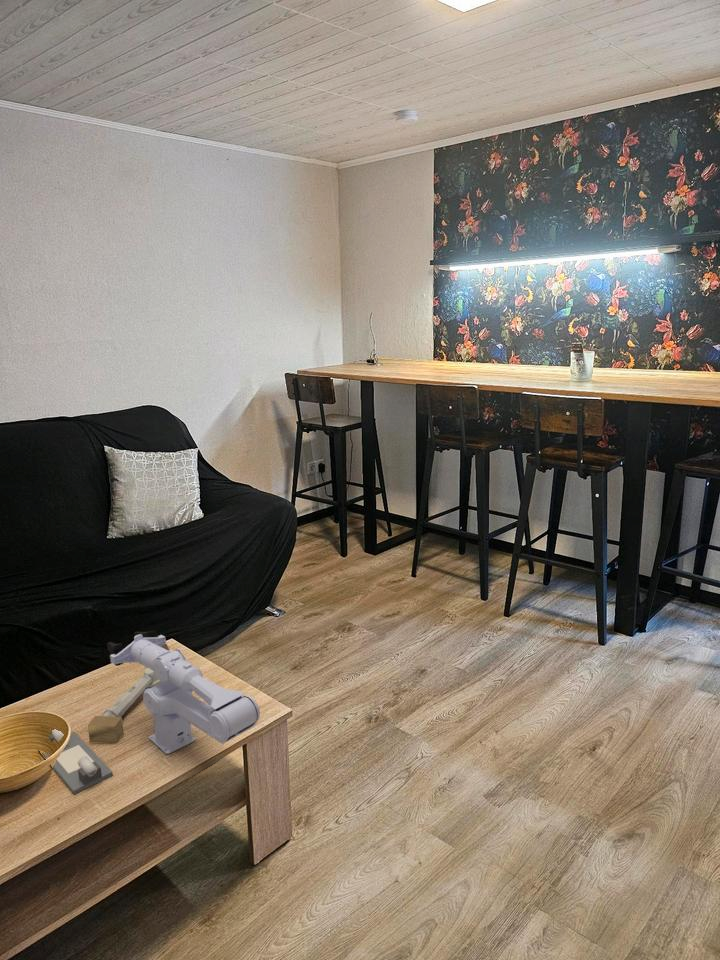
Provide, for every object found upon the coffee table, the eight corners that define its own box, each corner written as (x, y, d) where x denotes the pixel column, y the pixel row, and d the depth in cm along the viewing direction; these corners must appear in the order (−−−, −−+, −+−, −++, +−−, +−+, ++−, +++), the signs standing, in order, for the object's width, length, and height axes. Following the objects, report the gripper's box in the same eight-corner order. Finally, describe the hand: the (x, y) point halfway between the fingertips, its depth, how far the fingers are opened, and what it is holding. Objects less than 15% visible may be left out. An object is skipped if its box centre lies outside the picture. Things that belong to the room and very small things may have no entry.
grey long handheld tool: (92, 717, 173) (148, 658, 195) (97, 737, 175) (152, 677, 197) (109, 720, 171) (164, 661, 193) (114, 741, 174) (167, 680, 196)
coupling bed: (112, 775, 156) (110, 757, 155) (74, 794, 150) (71, 776, 149) (74, 734, 172) (72, 718, 171) (38, 750, 166) (35, 734, 165)
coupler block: (123, 734, 172) (121, 716, 171) (116, 743, 168) (114, 726, 167) (97, 733, 173) (95, 715, 171) (89, 742, 169) (87, 725, 167)
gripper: (173, 630, 173) (145, 617, 182) (121, 650, 162) (94, 636, 171) (176, 655, 174) (148, 641, 183) (124, 677, 164) (97, 662, 173)
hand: (122, 640), depth 178 cm, fingers open, 7 cm apart
